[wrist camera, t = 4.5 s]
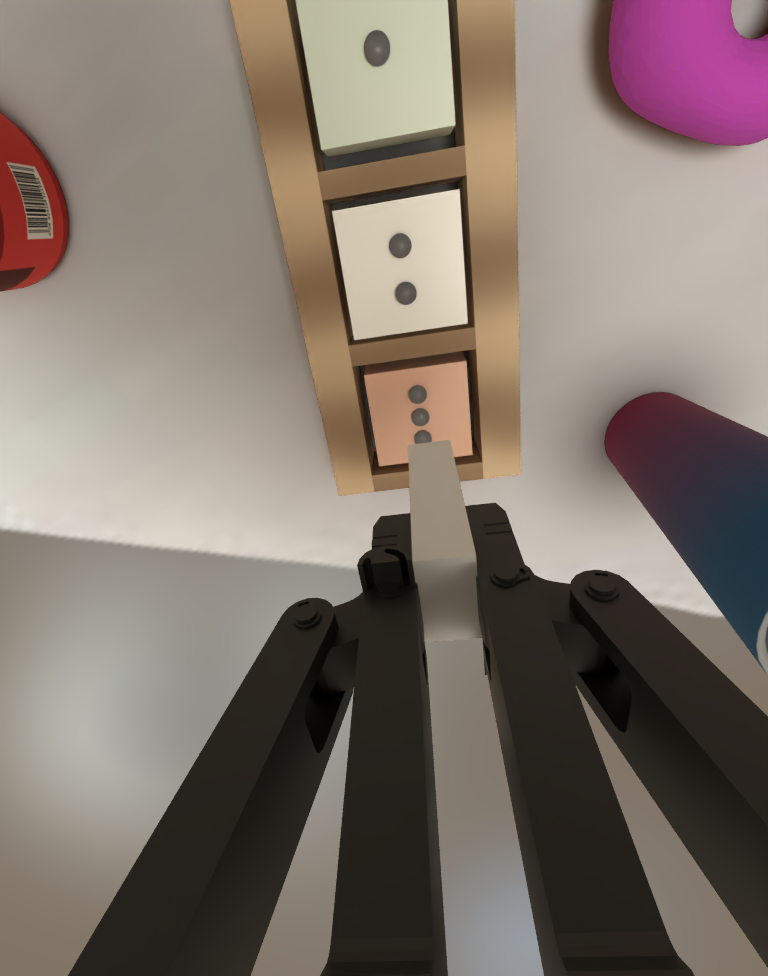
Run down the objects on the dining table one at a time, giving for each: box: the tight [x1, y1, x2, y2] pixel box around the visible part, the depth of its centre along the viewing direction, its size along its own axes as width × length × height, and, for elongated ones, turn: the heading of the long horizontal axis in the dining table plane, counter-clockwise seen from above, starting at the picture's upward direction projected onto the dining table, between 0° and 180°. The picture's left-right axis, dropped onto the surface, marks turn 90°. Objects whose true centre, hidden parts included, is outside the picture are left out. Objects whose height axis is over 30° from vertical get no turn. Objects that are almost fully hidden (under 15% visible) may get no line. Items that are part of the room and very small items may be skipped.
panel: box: [230, 0, 521, 496], centre depth 22 cm, size 22×10×3 cm, turn 8°
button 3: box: [364, 351, 473, 466], centre depth 25 cm, size 5×5×2 cm
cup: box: [605, 392, 768, 674], centre depth 21 cm, size 7×7×15 cm
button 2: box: [332, 189, 468, 340], centre depth 21 cm, size 5×5×2 cm
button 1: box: [296, 0, 455, 157], centre depth 17 cm, size 5×5×2 cm
